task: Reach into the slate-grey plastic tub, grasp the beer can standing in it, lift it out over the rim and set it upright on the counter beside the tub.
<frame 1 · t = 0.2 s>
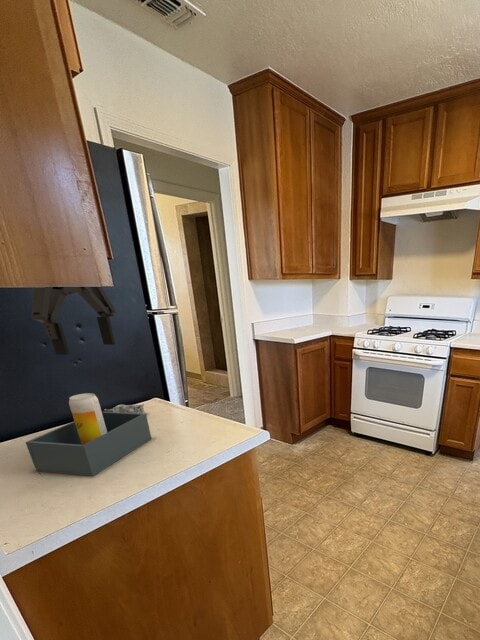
hand: (88, 349, 82), 27 cm above the counter, tool pointing down, fingers open, 13 cm apart
beer can: (98, 452, 92), resting on tub
tub: (99, 453, 92), on the counter
egg carton: (127, 417, 118), on the counter
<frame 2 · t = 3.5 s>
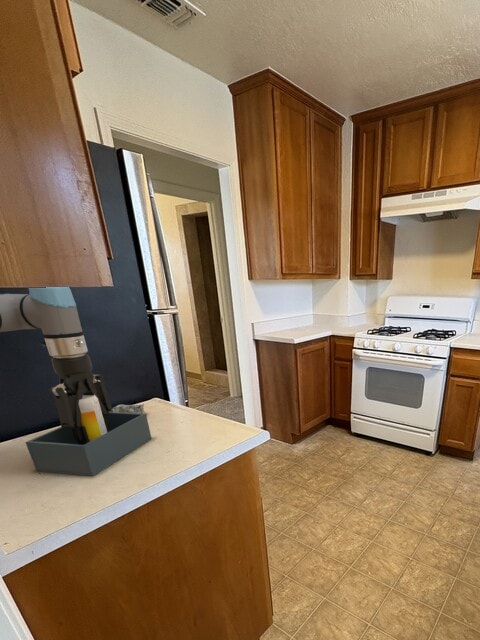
hand: (96, 444, 91), 3 cm above the counter, tool pointing down, fingers closed on beer can, 6 cm apart
beer can: (98, 452, 92), resting on tub, touching gripper
everything else where it was.
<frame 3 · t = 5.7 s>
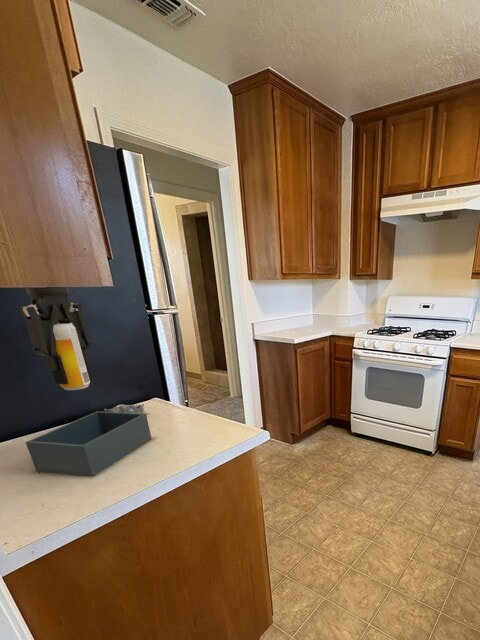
hand: (74, 379, 85), 20 cm above the counter, tool pointing down, fingers closed on beer can, 6 cm apart
beer can: (76, 388, 86), point 18 cm above the counter, touching gripper
everything else where it was.
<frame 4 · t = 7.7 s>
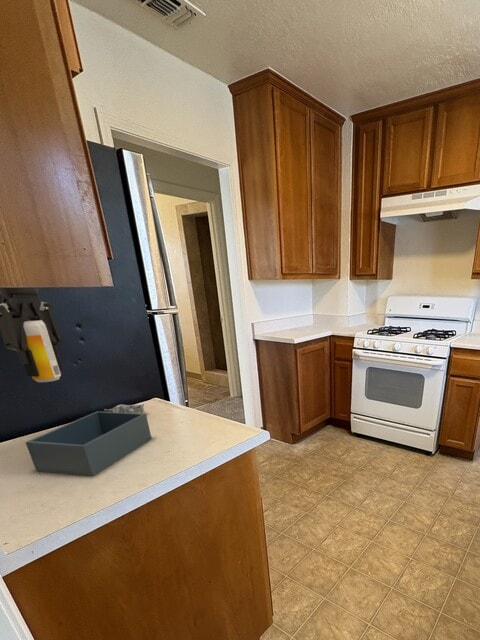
hand: (45, 372, 92), 20 cm above the counter, tool pointing down, fingers closed on beer can, 6 cm apart
beer can: (48, 380, 93), point 18 cm above the counter, touching gripper
everything else where it was.
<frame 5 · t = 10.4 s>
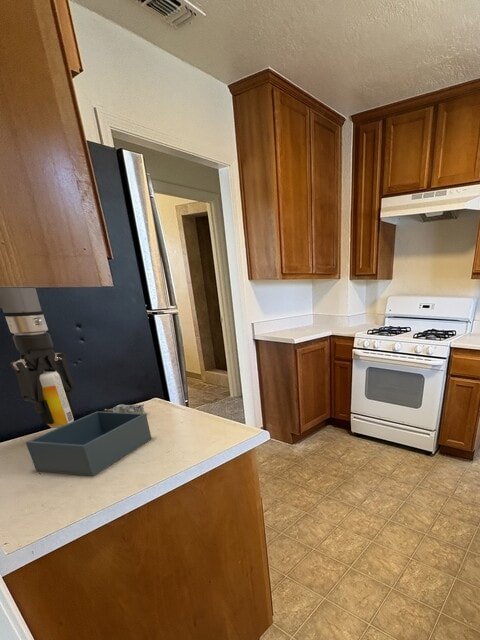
hand: (59, 418, 98), 7 cm above the counter, tool pointing down, fingers closed on beer can, 6 cm apart
beer can: (62, 425, 99), point 5 cm above the counter, touching gripper
everything else where it was.
when the fingers open (2 cm above the counter, at t = 12.0 s): beer can stays where it is, on the counter.
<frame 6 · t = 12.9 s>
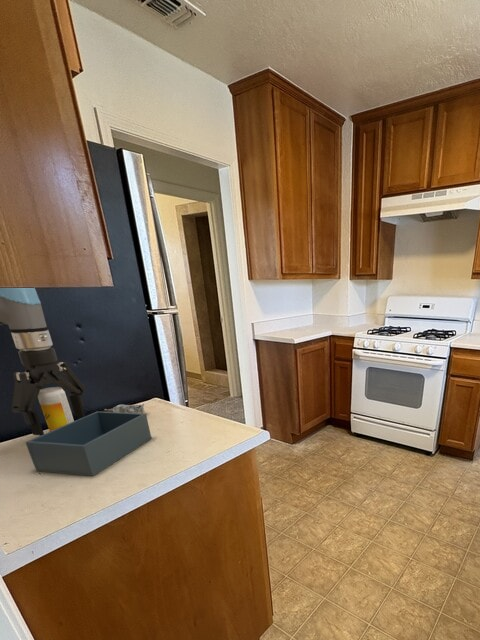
hand: (61, 425, 99), 5 cm above the counter, tool pointing down, fingers open, 13 cm apart
beer can: (67, 441, 101), on the counter
everything else where it was.
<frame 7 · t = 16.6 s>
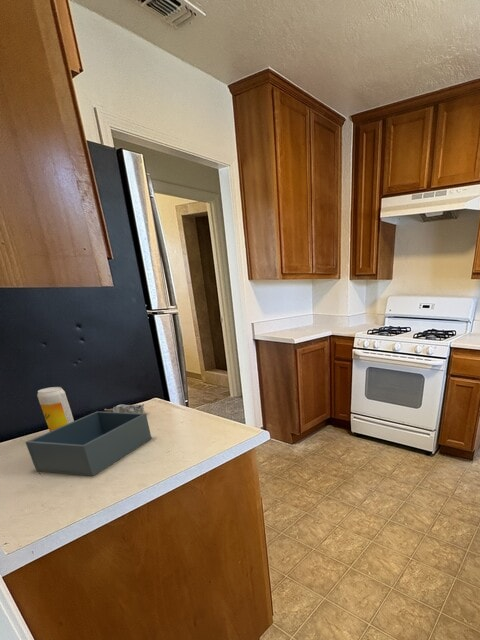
nothing on the counter moved.
at the end: beer can inside the target area (0.1 cm from its centre), on the counter; beer can tilted 0°; beer can touching counter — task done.
